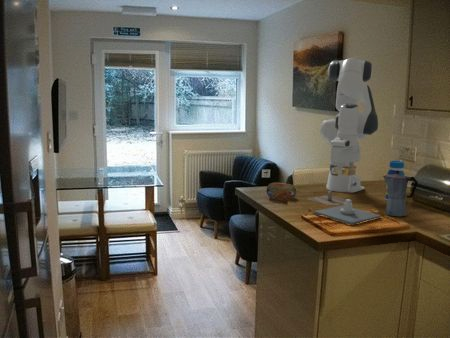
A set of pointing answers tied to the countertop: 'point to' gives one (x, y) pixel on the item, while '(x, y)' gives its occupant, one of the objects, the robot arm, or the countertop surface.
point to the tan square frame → (346, 171)
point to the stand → (328, 199)
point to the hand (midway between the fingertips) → (345, 172)
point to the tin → (281, 191)
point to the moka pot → (398, 193)
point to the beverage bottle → (394, 171)
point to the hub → (347, 213)
